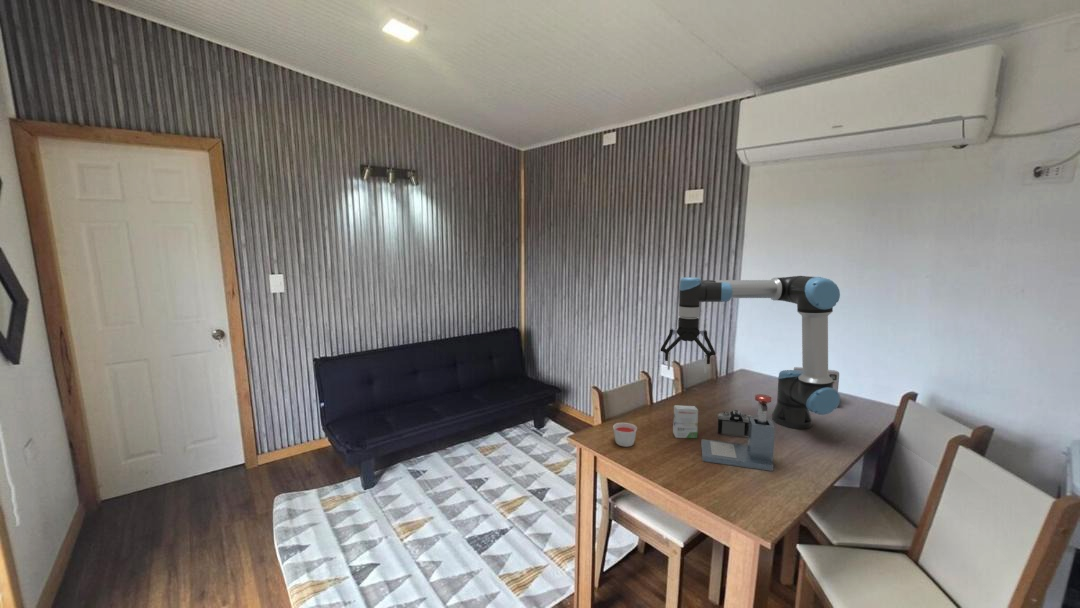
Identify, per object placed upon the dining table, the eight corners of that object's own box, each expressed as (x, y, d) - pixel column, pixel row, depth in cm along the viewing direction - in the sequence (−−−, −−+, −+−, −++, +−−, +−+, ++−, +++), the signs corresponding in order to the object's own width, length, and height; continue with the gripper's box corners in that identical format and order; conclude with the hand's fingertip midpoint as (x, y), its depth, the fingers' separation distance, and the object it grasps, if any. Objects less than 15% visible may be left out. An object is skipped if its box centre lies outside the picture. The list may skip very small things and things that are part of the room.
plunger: (766, 434, 151) (768, 393, 149) (771, 445, 143) (773, 401, 141) (751, 432, 153) (753, 391, 151) (754, 443, 144) (757, 400, 142)
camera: (756, 431, 173) (757, 407, 171) (759, 440, 164) (760, 415, 163) (715, 426, 178) (716, 403, 177) (716, 434, 170) (717, 410, 168)
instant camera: (787, 398, 210) (789, 369, 208) (790, 387, 227) (792, 360, 225) (839, 407, 198) (841, 376, 196) (838, 395, 215) (841, 366, 213)
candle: (622, 450, 157) (623, 434, 156) (608, 440, 165) (608, 425, 164) (641, 445, 161) (641, 429, 160) (626, 436, 169) (626, 421, 168)
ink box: (675, 438, 167) (676, 409, 165) (672, 432, 172) (673, 404, 170) (697, 438, 166) (698, 409, 165) (694, 433, 171) (695, 405, 170)
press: (767, 452, 154) (769, 415, 152) (774, 471, 141) (777, 431, 139) (701, 444, 161) (702, 408, 160) (702, 461, 148) (704, 423, 146)
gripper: (722, 317, 163) (720, 370, 165) (656, 314, 171) (654, 365, 174) (724, 320, 156) (721, 376, 158) (654, 317, 164) (653, 370, 167)
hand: (686, 370), depth 166 cm, fingers open, 13 cm apart
